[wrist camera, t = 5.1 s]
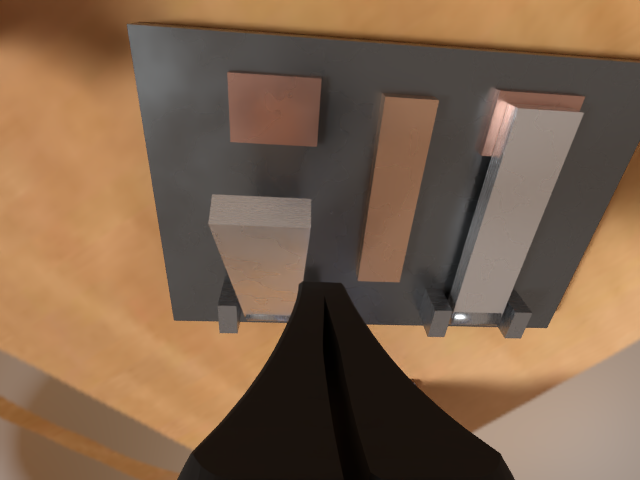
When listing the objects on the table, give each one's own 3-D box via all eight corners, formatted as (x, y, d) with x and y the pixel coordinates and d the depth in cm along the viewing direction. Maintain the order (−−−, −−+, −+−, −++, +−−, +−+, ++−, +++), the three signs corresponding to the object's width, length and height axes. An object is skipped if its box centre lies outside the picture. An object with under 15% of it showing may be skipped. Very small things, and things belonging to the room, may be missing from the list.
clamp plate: (535, 312, 27) (564, 351, 24) (180, 304, 26) (164, 344, 23) (651, 61, 19) (717, 72, 16) (139, 22, 17) (106, 26, 14)
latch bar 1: (297, 300, 24) (297, 323, 23) (247, 299, 24) (245, 322, 23) (311, 193, 12) (310, 233, 12) (212, 188, 12) (207, 230, 11)
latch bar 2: (488, 314, 25) (498, 330, 24) (442, 313, 25) (449, 329, 23) (567, 106, 18) (587, 113, 17) (505, 102, 18) (520, 109, 17)
